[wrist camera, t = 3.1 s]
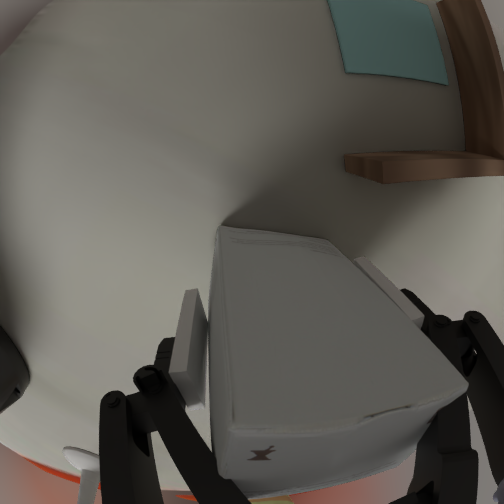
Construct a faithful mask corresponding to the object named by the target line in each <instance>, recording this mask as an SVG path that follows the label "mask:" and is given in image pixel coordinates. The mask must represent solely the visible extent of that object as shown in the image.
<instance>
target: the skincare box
mask: <svg viewBox="0 0 504 504" xmlns="http://www.w3.org/2000/svg"><path fill="white" fill-rule="evenodd" d="M208 351H209V399H210V428H211V444H212V454H213V455H214V456H215V458H216V459H217V467H218V473H219V475H220V476H222V477H223V478H224V479H232V481H233V482H234V483H235V484H236V486H237V487H238V488H239V489H240V490H241V492H242V493H243V494H244V495H245V496H246V497H247V499H260V498H269V497H276V496H283V495H290V494H296V493H302V492H308V491H313V490H318V489H323V488H327V487H332V486H336V485H339V484H343V483H348V482H351V481H355V480H358V479H361V478H365V477H368V476H371V475H374V474H377V473H380V472H383V471H386V470H389V469H392V468H395V467H397V466H399V465H400V464H401V463H402V462H403V461H404V460H406V459H407V458H408V457H409V456H410V455H411V454H412V453H413V452H414V451H415V450H416V449H417V443H418V441H419V440H420V439H421V437H422V436H423V434H424V433H425V431H426V430H427V428H428V427H429V425H430V424H431V422H432V420H433V419H434V417H435V415H436V414H437V412H438V411H439V410H441V409H442V408H444V407H445V406H447V405H448V404H449V403H451V402H452V401H454V400H455V399H457V398H458V397H459V396H461V395H462V394H463V393H465V392H466V391H467V388H468V385H469V383H468V382H467V381H466V380H465V379H464V377H463V376H462V375H461V374H460V373H459V372H458V370H457V369H456V368H455V367H454V366H453V365H452V364H451V363H450V361H449V360H448V359H447V358H446V357H445V356H444V355H443V353H442V352H441V351H440V350H439V349H438V348H437V347H436V346H435V345H434V344H433V343H432V342H431V341H430V339H429V338H428V337H427V336H426V335H425V334H424V333H423V332H422V331H421V330H420V329H419V328H418V327H417V326H416V325H415V324H414V323H413V321H412V320H411V319H410V318H409V317H408V316H407V315H406V314H405V313H404V312H403V311H402V310H401V309H400V308H399V307H398V306H397V305H396V304H395V303H394V302H393V301H392V300H391V299H390V298H389V297H388V296H387V295H386V294H385V293H384V292H383V291H382V290H380V289H379V288H378V287H377V286H376V285H375V284H374V283H373V282H372V281H371V280H370V279H369V278H368V277H367V276H366V275H365V274H364V273H363V272H362V271H361V270H360V269H359V268H358V267H356V266H355V265H354V264H353V263H352V262H351V261H350V260H349V259H348V258H347V257H346V256H345V255H344V254H342V253H341V252H340V251H339V250H338V249H337V248H336V247H335V246H334V245H333V244H331V243H330V242H329V240H325V239H320V238H313V237H306V236H299V235H293V234H286V233H278V232H271V231H263V230H253V229H240V228H233V227H227V226H219V227H218V229H217V236H216V243H215V250H214V257H213V265H212V273H211V281H210V290H209V299H208Z"/></svg>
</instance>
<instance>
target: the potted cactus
mask: <svg viewBox="0 0 504 504" xmlns="http://www.w3.org/2000/svg"><path fill="white" fill-rule="evenodd" d="M248 500H249V501H250V502H251V503H252V504H294V502H293V501H292V500H291V498H290V497H289V496H288V495H283V496H276V497H269V498H260V499H248Z"/></svg>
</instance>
